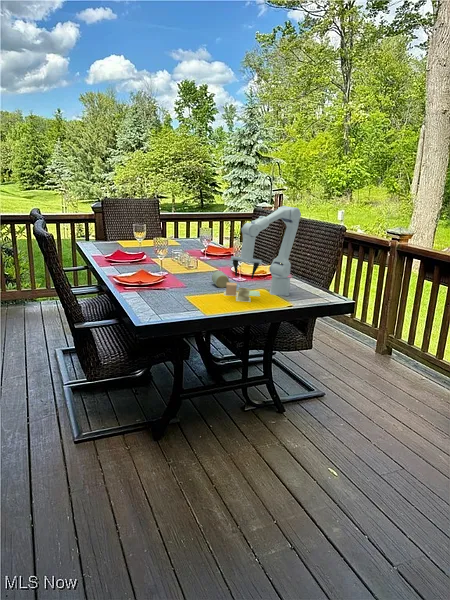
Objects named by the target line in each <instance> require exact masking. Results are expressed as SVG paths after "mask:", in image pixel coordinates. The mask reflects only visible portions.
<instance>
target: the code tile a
mask: <svg viewBox="0 0 450 600" xmlns="http://www.w3.org/2000/svg"><path fill="white" fill-rule="evenodd" d="M235 301H236V302H242V301H241V300H238V296H235ZM244 302H246V303H247V302H248V303H251V297H249V301H244Z"/></svg>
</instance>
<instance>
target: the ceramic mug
mask: <svg viewBox="0 0 450 600" xmlns="http://www.w3.org/2000/svg"><path fill="white" fill-rule="evenodd" d="M211 282H212V283H213V284H214V285H215V286H216V287H217V288H220V289H223V288H225V289H226V286H227V282H229V283H232V282H231V281H229V277H228V275H226V273H225V272H224V271H222V270H217V271H215V272H213V274H212V275H211Z"/></svg>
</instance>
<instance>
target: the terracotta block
mask: <svg viewBox="0 0 450 600" xmlns="http://www.w3.org/2000/svg"><path fill="white" fill-rule="evenodd" d="M229 282H230V281H229ZM229 282H227V286H226V287H225V291H226V295H225V296H227V295H236V292H237V289H238V288H237V286H238V285H237V282H231V283H229Z"/></svg>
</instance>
